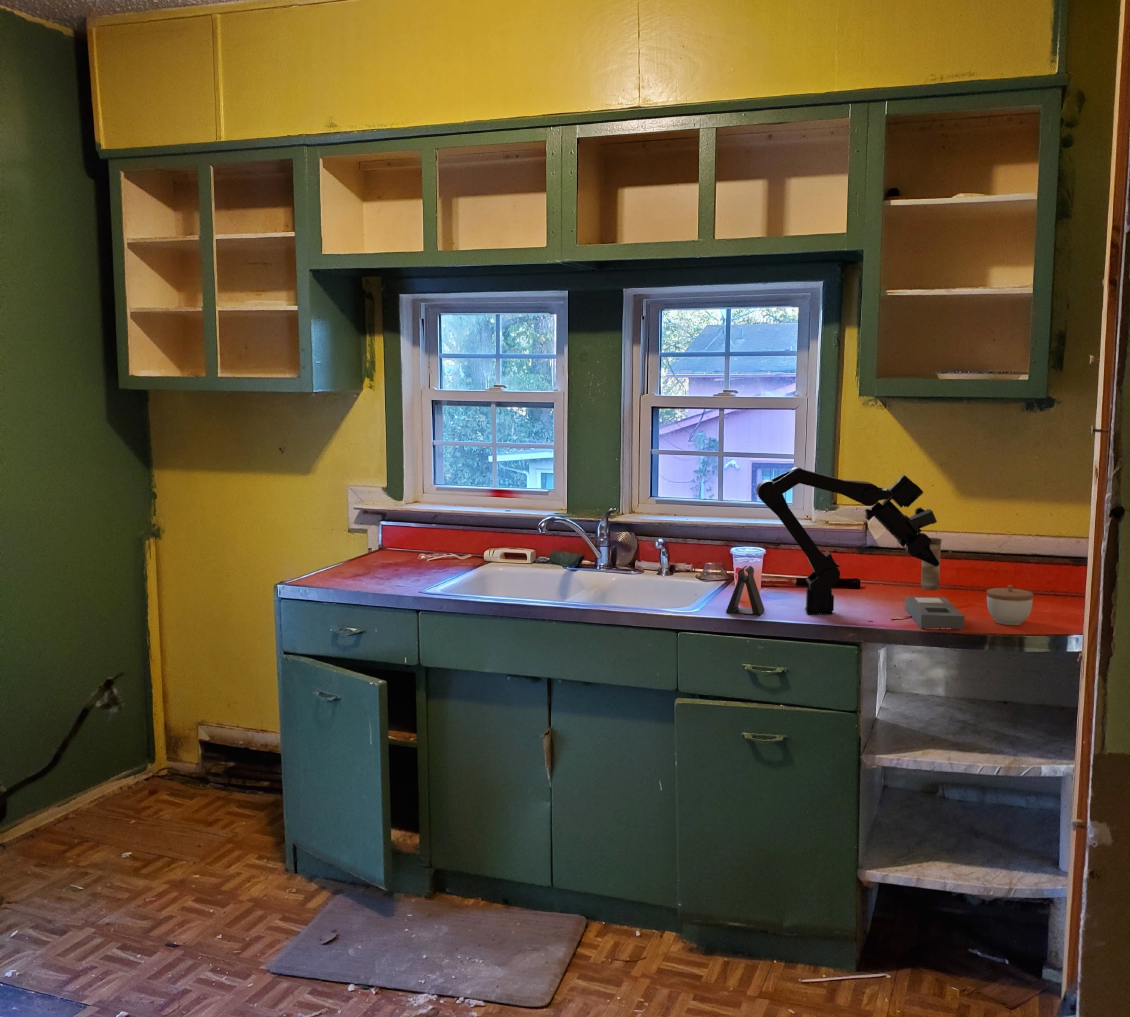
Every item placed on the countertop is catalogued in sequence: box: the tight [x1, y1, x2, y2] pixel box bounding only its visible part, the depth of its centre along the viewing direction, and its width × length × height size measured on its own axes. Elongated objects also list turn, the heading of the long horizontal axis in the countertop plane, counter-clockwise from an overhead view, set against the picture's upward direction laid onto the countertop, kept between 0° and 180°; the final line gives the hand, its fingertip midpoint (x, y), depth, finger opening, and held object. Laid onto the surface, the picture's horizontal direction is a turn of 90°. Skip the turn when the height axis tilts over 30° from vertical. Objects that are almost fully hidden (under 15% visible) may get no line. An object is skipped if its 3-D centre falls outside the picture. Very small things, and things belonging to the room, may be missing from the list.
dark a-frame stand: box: [725, 565, 766, 617], centre depth 275 cm, size 9×6×12 cm, turn 67°
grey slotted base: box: [904, 596, 965, 630], centre depth 266 cm, size 10×22×4 cm, turn 172°
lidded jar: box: [986, 584, 1034, 626], centre depth 262 cm, size 11×11×9 cm
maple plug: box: [920, 537, 942, 591], centre depth 270 cm, size 5×5×13 cm
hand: (936, 563), depth 270 cm, fingers closed on maple plug, 4 cm apart
